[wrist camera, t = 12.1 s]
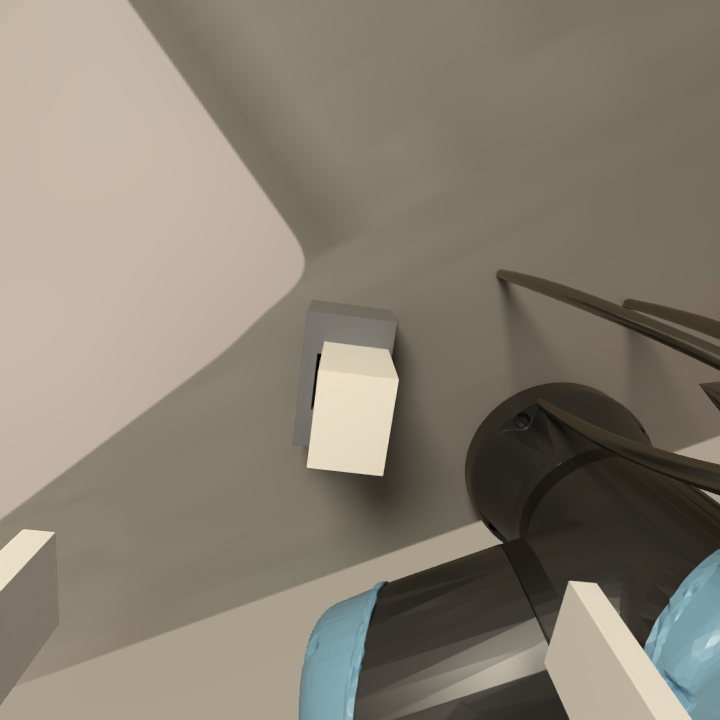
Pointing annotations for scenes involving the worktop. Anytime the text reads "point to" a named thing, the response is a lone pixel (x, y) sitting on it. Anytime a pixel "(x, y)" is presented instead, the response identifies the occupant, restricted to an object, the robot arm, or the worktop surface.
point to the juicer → (657, 460)
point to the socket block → (338, 328)
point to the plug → (352, 409)
